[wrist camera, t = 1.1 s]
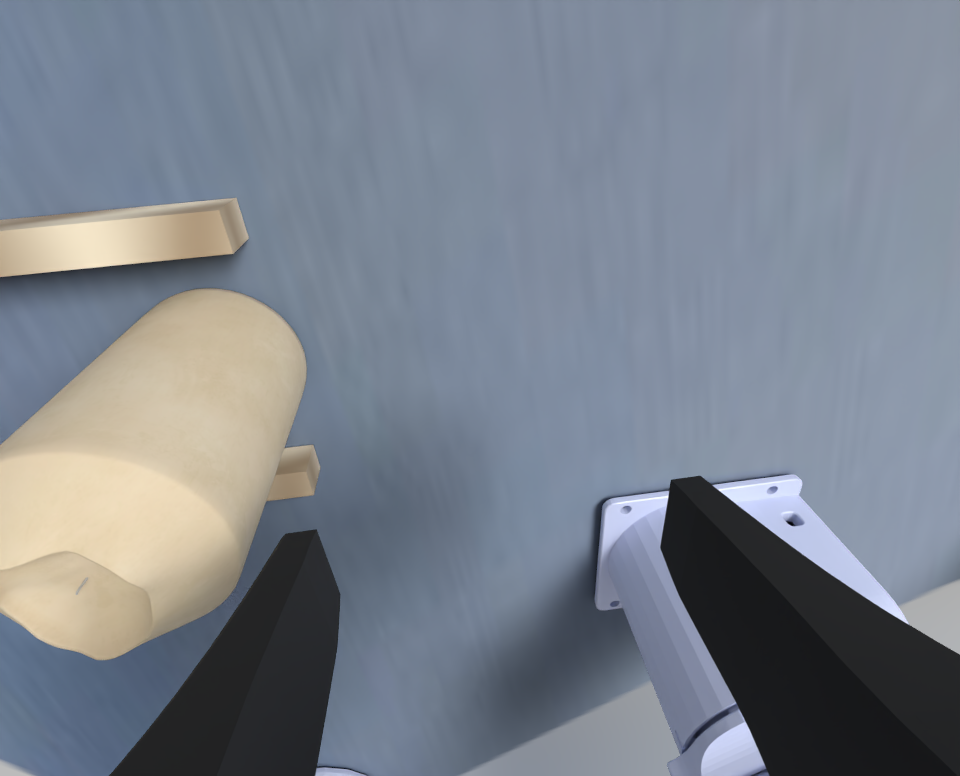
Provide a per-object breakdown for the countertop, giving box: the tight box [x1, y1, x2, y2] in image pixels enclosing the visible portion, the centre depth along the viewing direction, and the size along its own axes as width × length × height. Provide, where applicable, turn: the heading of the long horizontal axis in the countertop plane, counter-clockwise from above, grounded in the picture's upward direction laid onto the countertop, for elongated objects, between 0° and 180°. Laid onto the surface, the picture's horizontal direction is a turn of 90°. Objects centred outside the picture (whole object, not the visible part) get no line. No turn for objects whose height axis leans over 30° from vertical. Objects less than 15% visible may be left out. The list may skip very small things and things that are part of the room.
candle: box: [0, 288, 307, 660], centre depth 14 cm, size 6×6×10 cm
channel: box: [0, 198, 320, 501], centre depth 16 cm, size 13×11×3 cm
